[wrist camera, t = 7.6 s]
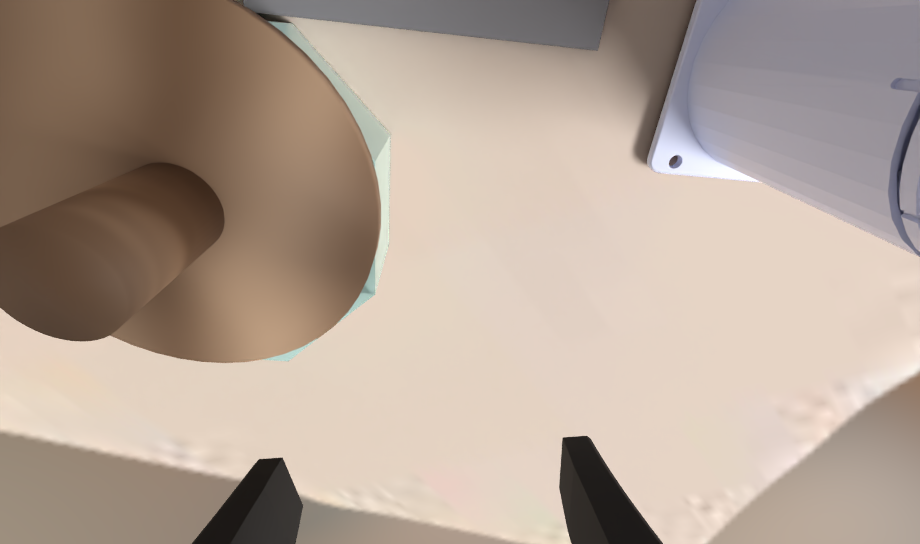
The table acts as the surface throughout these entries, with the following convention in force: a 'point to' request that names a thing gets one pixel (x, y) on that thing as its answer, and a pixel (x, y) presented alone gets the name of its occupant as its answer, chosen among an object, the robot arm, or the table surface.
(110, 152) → the lid
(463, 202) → the table surface
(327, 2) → the mat
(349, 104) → the bowl
